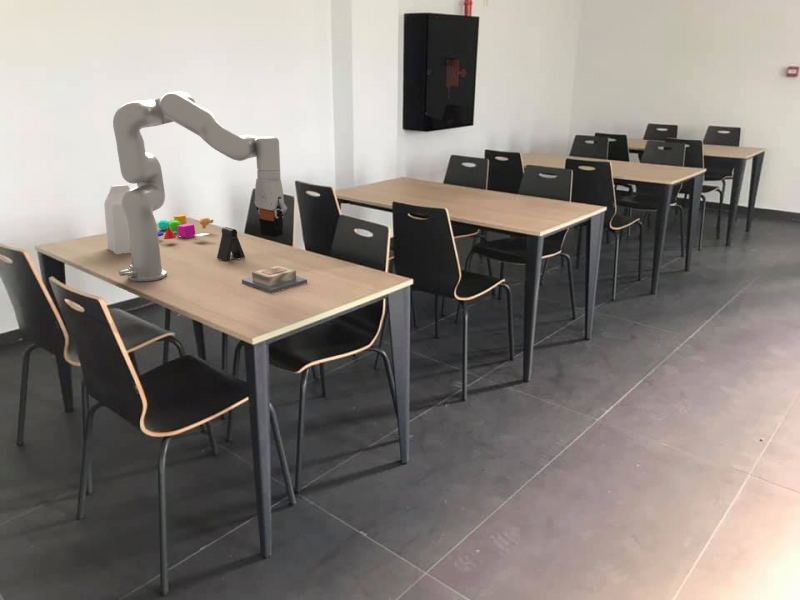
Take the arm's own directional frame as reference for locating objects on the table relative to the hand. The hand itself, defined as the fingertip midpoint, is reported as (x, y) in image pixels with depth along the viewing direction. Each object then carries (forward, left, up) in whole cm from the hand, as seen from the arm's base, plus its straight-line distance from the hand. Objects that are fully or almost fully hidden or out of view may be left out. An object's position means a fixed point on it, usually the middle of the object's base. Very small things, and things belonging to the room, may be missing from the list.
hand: (271, 227), depth 214 cm
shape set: (+13, +82, -20) cm, 85 cm away
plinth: (0, 0, -19) cm, 19 cm away
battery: (0, 0, -3) cm, 3 cm away
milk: (-14, +77, -20) cm, 81 cm away
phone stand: (+8, +37, -20) cm, 43 cm away
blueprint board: (0, 0, -20) cm, 20 cm away
